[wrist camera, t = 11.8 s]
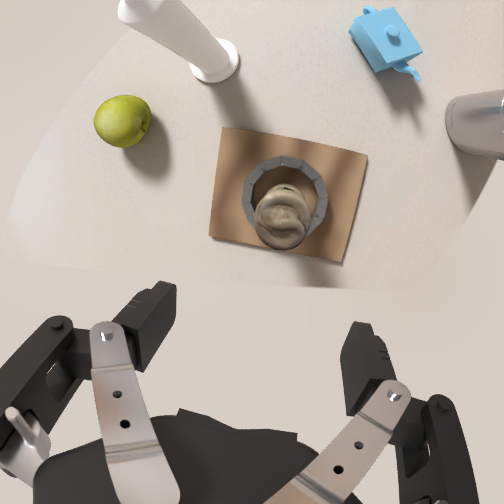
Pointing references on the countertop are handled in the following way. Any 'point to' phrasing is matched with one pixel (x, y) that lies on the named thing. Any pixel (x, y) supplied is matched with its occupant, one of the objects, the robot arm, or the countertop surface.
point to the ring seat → (288, 161)
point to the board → (269, 146)
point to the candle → (182, 36)
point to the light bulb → (282, 217)
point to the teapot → (385, 40)
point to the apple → (122, 120)
